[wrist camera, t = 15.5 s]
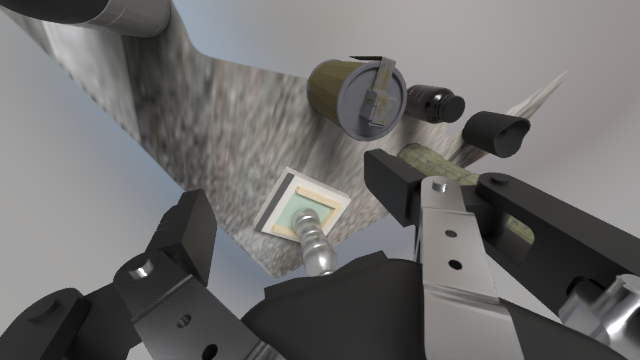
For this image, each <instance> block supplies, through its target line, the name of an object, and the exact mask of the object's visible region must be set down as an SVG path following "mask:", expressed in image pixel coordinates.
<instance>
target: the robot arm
mask: <svg viewBox="0 0 640 360" xmlns="http://www.w3.org/2000/svg"><path fill="white" fill-rule="evenodd" d="M0 5H2V6H4V7H6V8H8V9H10V10H12V11H14V12H17V13H19V14H22V15H25V16H28V17H32V18H35V19H39V20H44V21H49V22H55V23H60V24H66V25H71V26H77V27H84V28H89V29H95V30H100V31H106V32H112V33H117V34H123V35H128V36H134V37H140V38H150V37H154V36H157V35H158V34H160V33H162V31H163V30H164V29H165V28H166V27H167V25H168V23H169V19H170V4H169V0H0ZM364 180H365V184H366V186H367V188H368V189H369V191H370V192H371V193H372V194H373V195H374V196H375V197H376V198H377V199H378V200H379V201H380V202H381V204H382V205H383V206H384V207H385V208H386V209H387V210H388V211H389V212H390V213H391V214H392V215H393V217H394V218H395V219H396V220H397V221H398V222H399V223H400V224H401V225H402V226H403V227H407V226H410V225H413V224H414V225H415V237H414V259H413V261H410V260H405V259H388V258H387V257H386V255H385V254H384V252H383V251H382V250H381V251H378V252H375V253H372V254H369V255H365V256H362V257H359V258H356V259H354V260H352V261H351V262H349V263H348V264H346V265H344V266H343V267H341V268H339V269H338V270H336V271H334V272H333V273H331V274H329V275H323V276H312V277H302V278H294V279H291V280H288V281H285V282H281V283H279V284H275V285H272V286H269V287H266V288H264V291H265V299H264V300H263V301H261V302H259V303H258V304H257V305H255V306H254V307H253V308H251V309H250V310H249V311H248V312H247V313H246V314H245V315H244V316H243V317H242V318H241V320H239V319H238V318H237V317H236V316H235V315H234V314H233V313H232V312H231V311H230V310H229V309H228V308H227V307H226V306H224V305H223V304H222V303H221V302H220V301H219V300H218V299H217V298H216V297H215V296H214V295H213V294H212V293H211V292H210V291H209V290H208V289H206V287H207V285H208V278H209V273H210V266H211V260H212V255H213V249H214V243H215V237H216V230H217V222H216V218H215V215H214V213H213V210H212V208H211V206H210V203H209V201H208V199H207V197H206V194H205V192H204V191H203V190H202V189H197V190H193V191H188V192H184V193H183V194H182V196H181V198H180V200H179V202H178V204H177V205H175V206H172V208H170V209H169V210H168V211H167V212H166V213H165V214H164V216H163V218H162V219H161V221H160V224H159V226H158V228H157V231H156V232H155V233H154V235H153V237H152V239H151V241H150V243H149V245H148V247H147V249H146V251H145V252H144V253H142V254H139V255H137V256H136V257H134V258H132V259H131V260H129V261H128V262H126V263H125V264H124V265H123V266H122V267H121V268H120V269H119V270H118V271H117V273H116V274H115V276H114V279H113V283H110V284H108V285H106V286H104V287H102V288H100V289H98V290H96V291H94V292H92V293H90V294H88V295H85V296H83V295H82V294H81V293H80V292H79V291H78V290H77V289H75V288H66V289H62V290H59V291H56V292H54V293H51V294H49V295H47V296H45V297H43V298H42V299H40V300H39V301H37V302H35V303H34V304H32V305H31V306H30V307H28V308H27V309H26V310H24V312H22V313H21V314H20V315H19V316H18V317H17V318H16V319H15V320H14V321H13V322H12V323H11V325H10V326H9V327H8V328H7V330H6V331H5V332H4V333H3V335H2V336H1V337H0V360H126V358H127V356H128V353H129V350H130V349H131V348H133V347H134V346H136V345H137V344H139V343H141V342H143V343H144V344H145V346H146V348H147V350H148V351H149V353H150V355H151V357H152V358H153V360H640V239H639V238H637V237H635V236H633V235H631V234H629V233H627V232H625V231H623V230H621V229H619V228H617V227H615V226H613V225H610V224H608V223H606V222H604V221H602V220H600V219H598V218H596V217H594V216H592V215H590V214H588V213H586V212H584V211H582V210H580V209H578V208H575V207H573V206H572V205H569V204H568V203H566V202H563V201H561V200H559V199H557V198H555V197H553V196H551V195H549V194H547V193H545V192H543V191H541V190H539V189H537V188H535V187H533V186H531V185H529V184H527V183H525V182H523V181H521V180H518V179H516V178H514V177H512V176H509V175H506V174H501V173H484V174H481V175H480V176H479V177H478V180H477V184H476V185H464V186H460V185H459V184H458V183H457V182H456V181H455V180H453V179H451V178H448V177H443V176H430V177H428V176H427V175H425V174H424V173H422V172H421V171H419V170H418V169H416V168H415V167H412V165H410V164H409V163H407V162H406V161H404V160H402V159H401V158H399V157H396V156H392V155H389V154H388V153H386V152H385V151H383V150H382V149H380V148H378V149H374V150H370V151H366V152H365V153H364ZM510 216H512V217H514V218H515V219H517V220H519V221H520V222H522V223H523V224H525V225H526V226H528V227H529V228H530V229H531V231H532V232H533V234H534V242H533V244H532V245H531V244H530V243H528V242H527V241H526V240H524V239H523V238H521V237H520V236H518V235H517V234H516V233H514V232H513V231H511V230H510V229H509V228H507V227H506V226H507V223H508V221H509V218H510ZM486 253H487V254H488V255H489V256H490V257H491V258H492V259H493V260H495V261H496V262H497V263H498V264H499V265H500V266H501V267H502V268H503V269H505V270H506V271H507V272H508V273H509V274H510V275H511V276H512V277H514V278H515V279H516V280H517V281H518V282H519V283H520V284H522V285H523V286H524V287H525V288H526V289H527V290H528V291H529V292H531V293H532V294H533V295H534V296H535V297H536V298H537V299H538V300H540V301H541V302H542V303H543V304H544V305H545V306H546V307H547V308H549V309H550V310H551V311H552V312H553V313H554V314H555V315H556V316H558V317H559V318H560V320H561V322H562V324H563V325H562V324H560V323H558V322H555V321H553V320H551V319H548V318H546V317H544V316H541V315H539V314H537V313H534V312H532V311H530V310H528V309H525V308H523V307H520V306H518V305H515V304H514V303H511V302H509V301H506V300H504V299H502V298H500V297H498V295H497V291H496V288H495V285H494V281H493V277H492V274H491V270H490V267H489V263H488V260H487V256H486Z"/></svg>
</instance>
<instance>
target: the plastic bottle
mask: <svg viewBox="0 0 640 360" xmlns="http://www.w3.org/2000/svg"><path fill="white" fill-rule="evenodd" d="M292 226H293V229H294V231H295V232H296V234H297V236H298V238H299V240H300V243H301V247H302V252H303V261H304V267H305V270H306V272H307V273H308V275H310V276H311V277H312V276H323V275H329V274H331V273H333V272H334V271H336V269H337V265H338V258H337V254H336V253H335V251H334V249H333V248H332V246H331V245H330V244H329V242H328V240H327V239H326V237H325V235H324V233H323V229H322V226H321V221H320V217H319V215H318V214H317V212H316V211H315V210H314V209H312V208H301V209H299V210H298V211H297V212H296V213H295V214H294V216H293V219H292Z"/></svg>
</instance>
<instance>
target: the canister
mask: <svg viewBox="0 0 640 360" xmlns="http://www.w3.org/2000/svg"><path fill="white" fill-rule="evenodd" d="M350 57H352V58H355V59H358V60H374V61H373V62H368V63H361V62H345V61H340V60H328V61H325V62H322V63H321V64H320V65H318V66H317V67H316V68H315V69H314V70H313V72H312V73H311V75H310V77H309V80H308V86H307V94H308V98H309V101H310V103H311V105H312V106H313V108H314V109H315V110H316V111H318V112H319V113H321V114H323V115H325V116H326V117H328V118H329V119H330V120H332V121H333V122H334V123H336V124H337V125H338V126H340V127H341V128H342V129H343V130H344V131H345V132H346V133H347V134H348V135H349V136H350V137H352V138H354V139H356V140H359V141H373V140H377V139H379V138H382V137H383V136H385V135H387V134H388V133H389V132H390V131H392V130H393V128H394V127H395V126H396V125H397V124H398V122H399V120H400V119H401V117H402V115H403V113H404V110H405V107H406V102H407V89H406V83H405V81H404V78H403V76H402V74H401V73H400V72H399V71H398V69H396V68H395V63H396V61H394V60H391V59H388V58H385V57H382V56H355V57H354V56H350Z"/></svg>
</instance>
